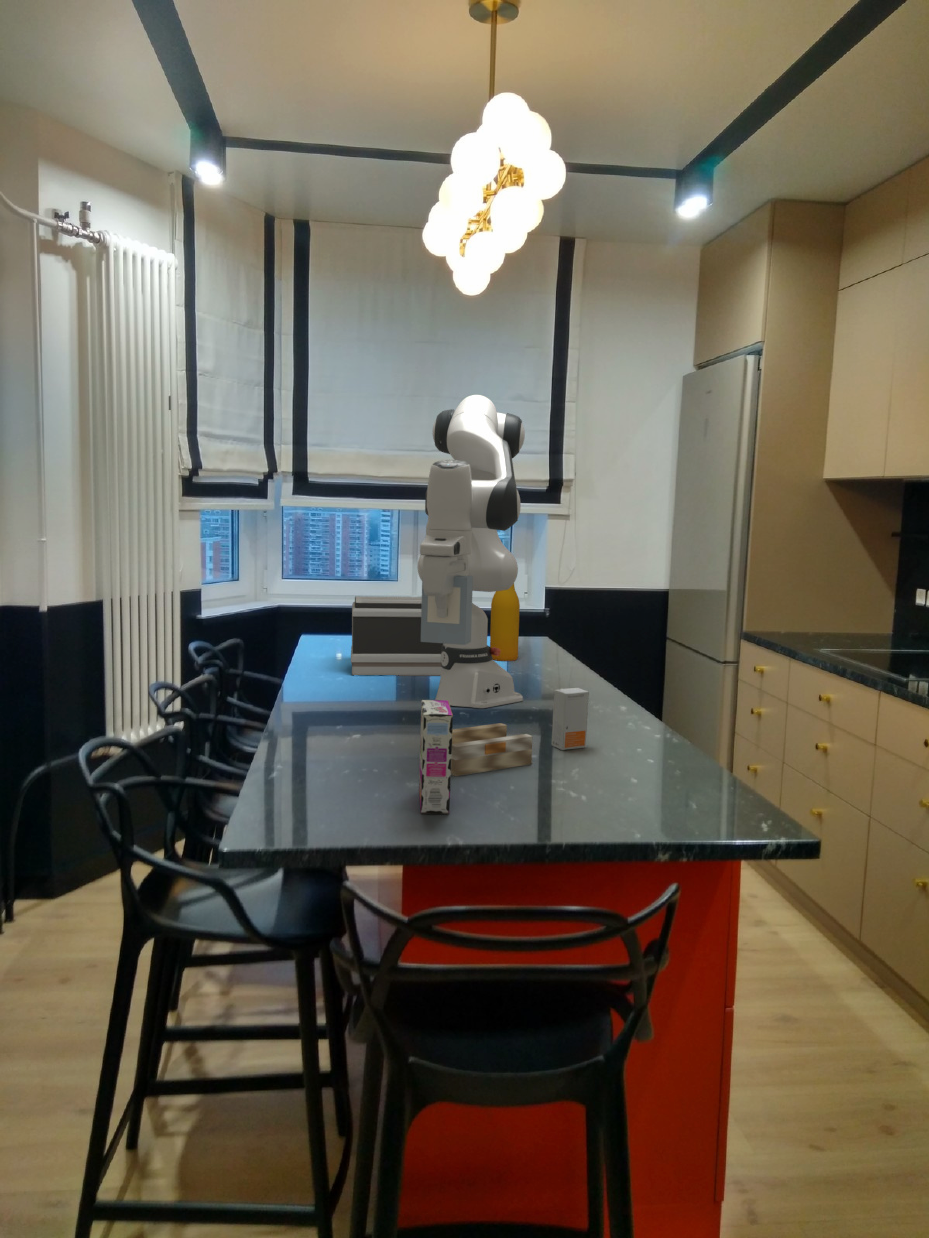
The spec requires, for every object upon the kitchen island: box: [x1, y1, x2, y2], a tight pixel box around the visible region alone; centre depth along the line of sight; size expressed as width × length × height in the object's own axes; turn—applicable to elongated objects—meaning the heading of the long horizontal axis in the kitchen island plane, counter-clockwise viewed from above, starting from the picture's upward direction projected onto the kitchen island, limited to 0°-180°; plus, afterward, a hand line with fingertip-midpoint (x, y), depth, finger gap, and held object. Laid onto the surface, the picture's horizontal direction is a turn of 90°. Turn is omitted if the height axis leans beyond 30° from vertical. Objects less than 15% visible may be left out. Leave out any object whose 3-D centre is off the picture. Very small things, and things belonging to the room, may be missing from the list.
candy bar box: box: [418, 699, 454, 815], centre depth 142 cm, size 11×5×16 cm, turn 5°
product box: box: [421, 575, 474, 645], centre depth 168 cm, size 5×9×13 cm, turn 76°
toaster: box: [350, 595, 443, 677], centre depth 254 cm, size 18×34×21 cm, turn 97°
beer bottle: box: [489, 583, 521, 662], centre depth 276 cm, size 9×9×29 cm
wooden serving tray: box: [451, 722, 533, 777], centre depth 166 cm, size 17×11×6 cm, turn 120°
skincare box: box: [551, 687, 590, 751], centre depth 178 cm, size 6×4×12 cm
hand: (446, 615), depth 168 cm, fingers closed on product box, 5 cm apart
